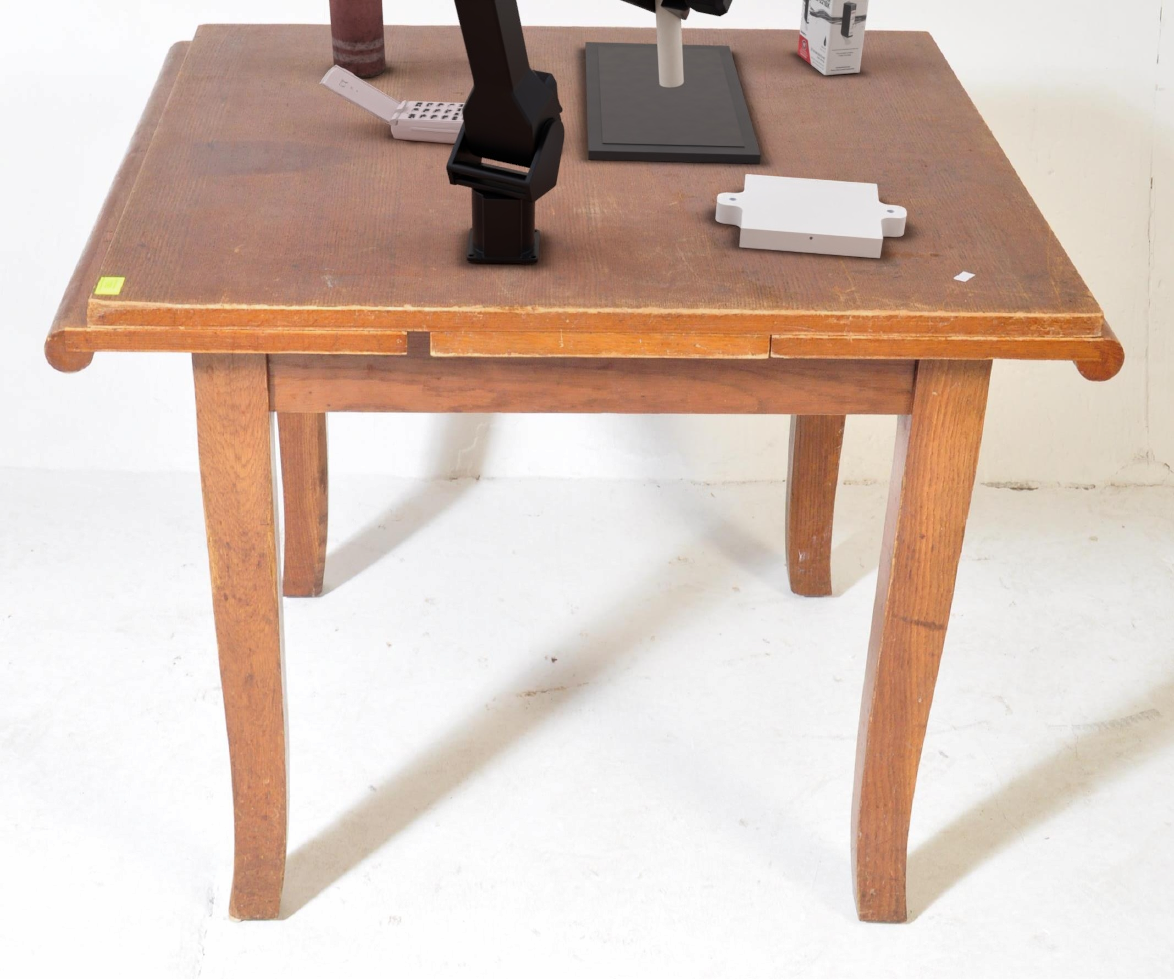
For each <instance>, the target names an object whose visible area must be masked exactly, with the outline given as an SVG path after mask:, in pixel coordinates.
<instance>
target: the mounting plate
mask: <svg viewBox="0 0 1174 979" xmlns="http://www.w3.org/2000/svg"><path fill="white" fill-rule="evenodd" d="M878 191H879V190H878V183H871V182H858V181H857V182H856V181H844V180H830V179H820V178H819V179H816V178H804V177H792V176H791V177H790V176H777V175H766V174H765V175H763V174H750V173H748V174H747V173H745V177H744V188H743V191H740V192H721V193H718V194H717V197H716V205H715V206H716V208H715V221H716V222H717V223H720V224H723V225H734V226H737V227H739V229H740V233H739V246H738V247H739V248H746V249H757V250H769V251H783V252H796V253H808V254H821V255H831V256H832V255H833V256H834V255H835V256H844V257H845V256H846V257H861V258H870V259H871V258H872V259H881V253H882V249H883V248H882V247H883V242H884V237H889V238H890V237H891V238H899V237H902V236H904V234H905V228H906V223H907V216H908V214H907V213H908V212H907V209H906V208H905V207H903V206H901V205H897V204H886V203H883V202H882V201H880V199H879V192H878Z"/></svg>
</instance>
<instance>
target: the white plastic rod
mask: <svg viewBox="0 0 1174 979" xmlns="http://www.w3.org/2000/svg"><path fill="white" fill-rule="evenodd" d="M662 1H663V0H655V9H656V14H655V24H656V27H655V28H656V44H657V47H658V66H659V84H660V85H661V86H663V87H669V88H671V87H677V86H680V85H682V84H683V83H684V77H683V53H682V45H683V32H682V30H683V29H682V19H681V18H679V17H677V16H675V15H674V14H672V13H670V12H669V11H667V10H666V9H664V8H662V7H661V3H662Z"/></svg>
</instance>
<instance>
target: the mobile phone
mask: <svg viewBox="0 0 1174 979" xmlns="http://www.w3.org/2000/svg"><path fill="white" fill-rule="evenodd" d="M318 85H320V86H321V87H324V88H325V89H327V90H328V91H331V92H332V93H334V94H335V95H337V96H339V97H340V98H342V99H343V100H346V101H347V102H349V103H351V104H352V105H354V106H356V107H358V108H359V109H361V110H363V111H364V112H366V113H367V114H370V115H372V116H373V117H375V118H376V119H379V120H380V121H382V122H383V123H386V124H387V125H389V126H390V132H391V134H392V137H393V139H396V140H404V141H415V142H416V141H417V142H427V143H429V142H430V143H439V144H440V143H441V144H453V145H454V144H455V142H456V139H457V136H458V134H459V131H460V129H461V126H462V123H463V114H462V109H463V107H464V104H465V102H445V101H444V102H442V101H419V100H418V101H417V100H407V99H404V100H402V101H401V102H400V101H398V100H397V99H395V98H393V97H391V96H390V95H388V94H386V93H385V92H383V91H382V90H380V89H378V87H375V86H373V85H371V84H370V83H368V82H366V81H365V80H363V79H362V78H358V77H356V76H355V75H354V74H353V73H351V72H349V71H348V70H346V69H344V68H341V67H339V66H338V65H335V66H334V65H333V66H332V67H331V68H329V69H328V71H327V72H326V73H325V74H324V75H323V77H322V78H321V80H320V82H319V83H318Z"/></svg>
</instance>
